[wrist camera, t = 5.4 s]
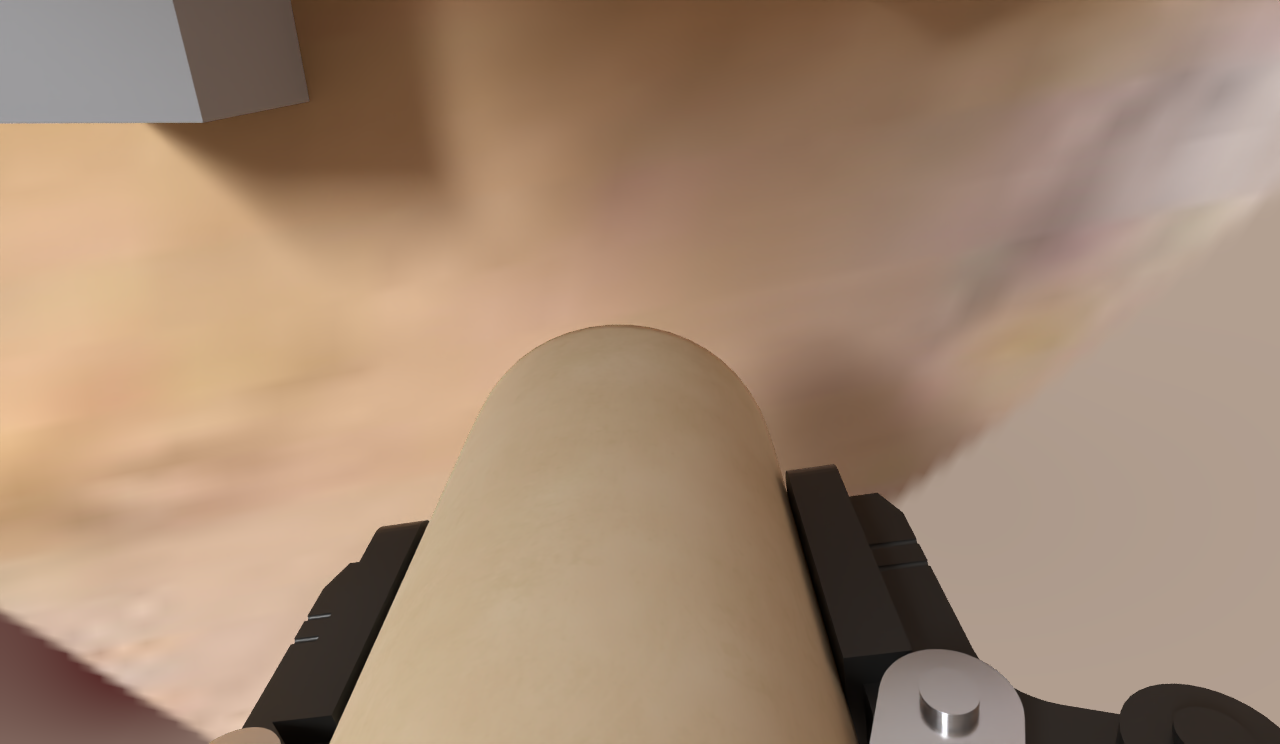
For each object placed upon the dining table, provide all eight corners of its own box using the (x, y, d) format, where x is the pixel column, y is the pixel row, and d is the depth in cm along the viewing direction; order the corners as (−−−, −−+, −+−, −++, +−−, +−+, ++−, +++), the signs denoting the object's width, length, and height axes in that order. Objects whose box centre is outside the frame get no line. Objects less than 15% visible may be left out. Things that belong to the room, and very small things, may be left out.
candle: (516, 277, 12) (102, 1045, 3) (818, 374, 13) (1225, 1235, 4) (448, 528, 14) (97, 1390, 5) (707, 598, 15) (789, 1464, 6)
